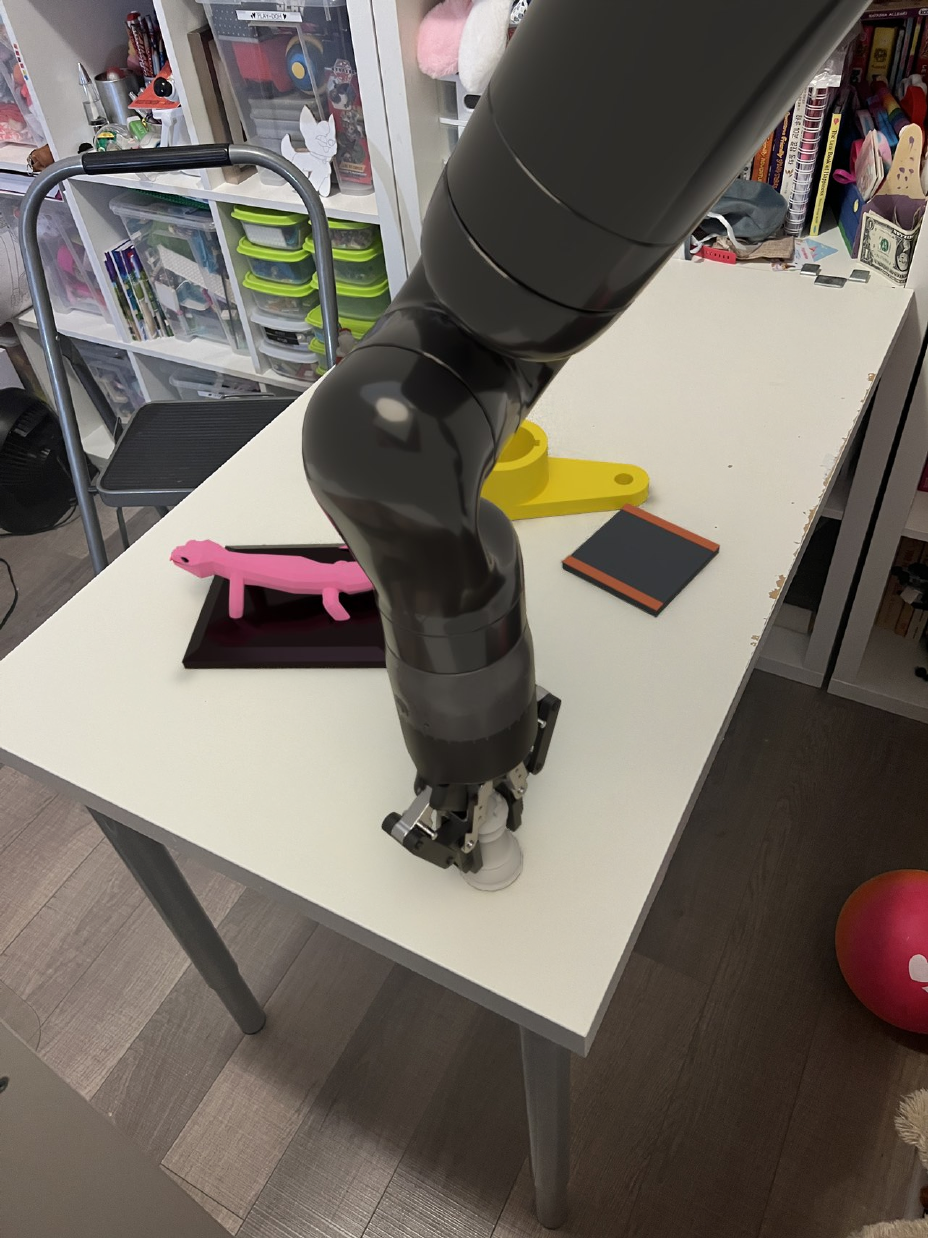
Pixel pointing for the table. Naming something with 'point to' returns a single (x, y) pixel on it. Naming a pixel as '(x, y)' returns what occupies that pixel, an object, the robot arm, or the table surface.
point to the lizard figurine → (282, 608)
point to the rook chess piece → (496, 849)
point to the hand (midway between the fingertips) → (487, 840)
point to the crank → (558, 481)
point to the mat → (641, 558)
